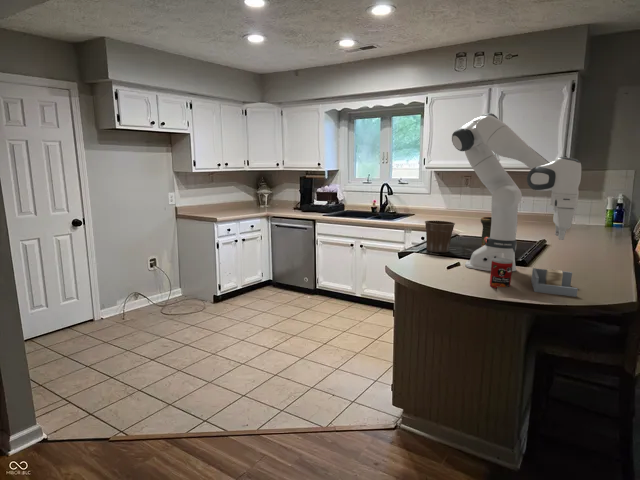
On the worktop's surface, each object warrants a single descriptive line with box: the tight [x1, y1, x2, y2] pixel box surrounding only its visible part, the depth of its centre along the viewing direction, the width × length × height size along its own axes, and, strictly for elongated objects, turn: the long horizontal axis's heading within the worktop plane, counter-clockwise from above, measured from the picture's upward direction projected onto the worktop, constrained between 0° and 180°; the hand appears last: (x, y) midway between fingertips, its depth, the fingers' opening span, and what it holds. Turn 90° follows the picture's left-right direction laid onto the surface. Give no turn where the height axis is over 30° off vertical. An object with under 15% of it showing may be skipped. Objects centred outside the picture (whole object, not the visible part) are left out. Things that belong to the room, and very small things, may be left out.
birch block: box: [545, 268, 563, 286], centre depth 165 cm, size 5×5×7 cm
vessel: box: [480, 216, 492, 247], centre depth 230 cm, size 14×14×20 cm
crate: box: [530, 267, 578, 298], centre depth 166 cm, size 14×16×6 cm
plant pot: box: [424, 220, 456, 254], centre depth 236 cm, size 16×16×16 cm
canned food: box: [489, 258, 513, 289], centre depth 169 cm, size 8×8×11 cm
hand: (559, 237), depth 162 cm, fingers open, 8 cm apart
